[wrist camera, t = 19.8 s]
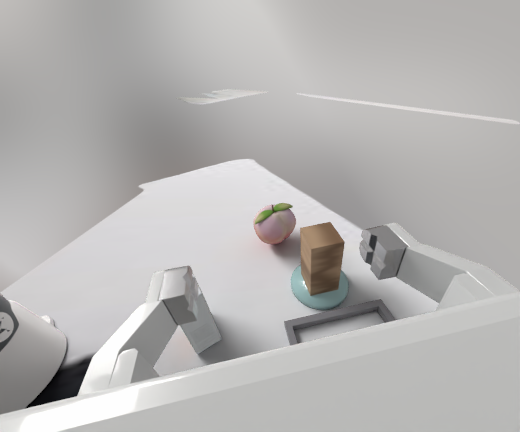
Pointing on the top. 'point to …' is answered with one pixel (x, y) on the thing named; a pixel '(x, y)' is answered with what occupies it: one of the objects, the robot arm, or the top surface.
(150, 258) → the top surface
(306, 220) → the top surface
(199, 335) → the skincare box
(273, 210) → the decorative fruit
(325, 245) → the walnut block
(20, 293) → the top surface
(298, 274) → the teal round disc
